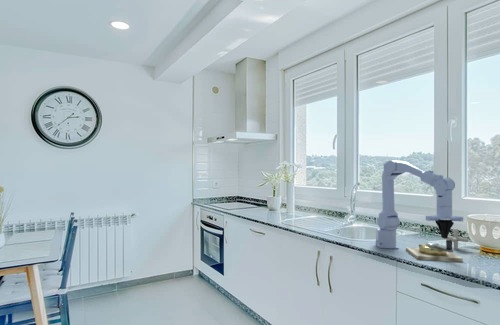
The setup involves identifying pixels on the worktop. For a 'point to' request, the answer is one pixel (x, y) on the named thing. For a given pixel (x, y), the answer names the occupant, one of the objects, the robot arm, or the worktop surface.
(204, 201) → the worktop surface
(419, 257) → the beige flat board
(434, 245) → the crank handle
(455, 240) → the pipe connector
